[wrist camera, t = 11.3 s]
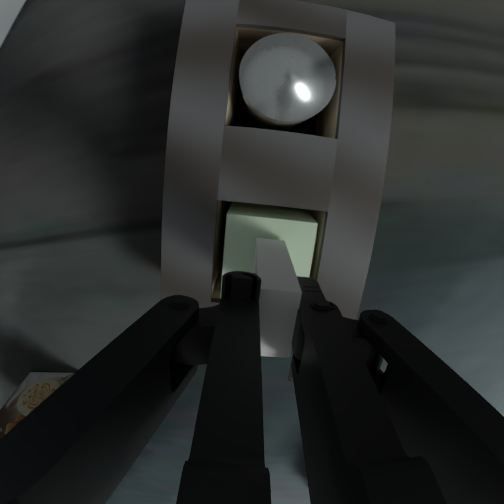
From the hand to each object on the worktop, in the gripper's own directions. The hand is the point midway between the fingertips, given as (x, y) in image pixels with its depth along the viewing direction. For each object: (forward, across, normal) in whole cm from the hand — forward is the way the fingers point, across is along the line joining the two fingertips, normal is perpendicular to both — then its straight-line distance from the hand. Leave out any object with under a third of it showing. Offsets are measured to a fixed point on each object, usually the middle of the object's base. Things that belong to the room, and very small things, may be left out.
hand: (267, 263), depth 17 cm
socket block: (+8, 0, +5) cm, 9 cm away
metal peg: (+8, 0, +10) cm, 13 cm away
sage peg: (+8, 0, 0) cm, 8 cm away
